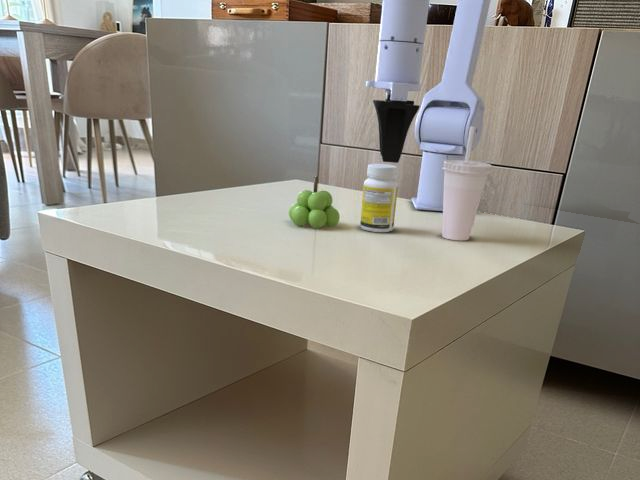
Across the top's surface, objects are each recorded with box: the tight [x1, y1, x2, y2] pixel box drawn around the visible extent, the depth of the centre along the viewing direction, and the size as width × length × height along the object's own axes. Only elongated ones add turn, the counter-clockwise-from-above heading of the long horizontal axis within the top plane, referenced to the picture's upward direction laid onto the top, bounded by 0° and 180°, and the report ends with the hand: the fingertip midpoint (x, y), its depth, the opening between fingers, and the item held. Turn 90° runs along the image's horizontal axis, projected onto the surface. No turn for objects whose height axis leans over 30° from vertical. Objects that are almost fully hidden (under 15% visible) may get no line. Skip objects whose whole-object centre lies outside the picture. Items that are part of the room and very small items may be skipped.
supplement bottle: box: [359, 163, 399, 233], centre depth 87 cm, size 5×5×8 cm
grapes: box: [288, 175, 341, 229], centre depth 87 cm, size 7×7×6 cm
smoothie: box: [441, 127, 493, 242], centre depth 84 cm, size 6×6×14 cm
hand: (389, 158), depth 86 cm, fingers open, 7 cm apart
